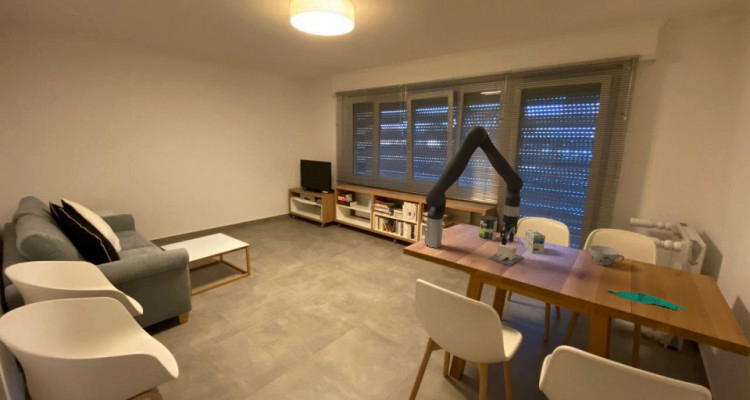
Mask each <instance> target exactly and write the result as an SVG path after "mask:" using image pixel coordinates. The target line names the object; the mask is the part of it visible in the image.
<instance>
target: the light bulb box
mask: <svg viewBox="0 0 750 400" xmlns="http://www.w3.org/2000/svg"><path fill="white" fill-rule="evenodd" d="M545 242H546V235H545V234H543V233H541V232H540V231H538V230H536V229H535V230H533V229H526V230H525V237H524V242H523V243H524V245H523V247H524V248H525V249H526V250H527V251H529V252H530V253H531V254H544V250H545Z"/></svg>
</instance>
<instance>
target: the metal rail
mask: <svg viewBox="0 0 750 400" xmlns="http://www.w3.org/2000/svg"><path fill="white" fill-rule="evenodd" d="M497 258H498V260H500V261H503V260H505V259H507V258H508V257H506V256H502V255H501V256H499V257H497Z"/></svg>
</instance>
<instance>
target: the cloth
mask: <svg viewBox="0 0 750 400" xmlns="http://www.w3.org/2000/svg"><path fill="white" fill-rule="evenodd" d="M606 293H613V294H615V295H616V296H618V298H622V299H625V300H627V301H632V302H634V303H635V302H636V303H639V304H644V305H652V304H653V305H656V306H661V307H663V306H665V307H664V308H667V307H668V309H671V310H674V311H676V310H678V308H680V309H679V310H682V309H683V311H689V309H687V308H686V307H682V306H681V305H677V304H675V303H673V302H670V301H667V300H665V299H662V298H659V297H656V296H653V295H651V294H648V293H646V292H645V293H643V292H637V291H635V292H630V291H614V290H607V291H606ZM679 310H678V311H679Z"/></svg>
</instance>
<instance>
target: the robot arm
mask: <svg viewBox="0 0 750 400" xmlns="http://www.w3.org/2000/svg"><path fill="white" fill-rule="evenodd" d="M462 141H463V142H462V143H461V145H460V147H459V148H458V150H457V151H456V152H455V153H454V155H453V156H452V157H451V159H449V162H448V163H447V165H446V166H445V168H444V169H443V171H442V173H441V174H440V175H439V178H438V179H437V182H435V184H434V185H433V187H432V188H431V189H430V191H429V192H427V195H426V198H425V204H426V206H428V207H429V208H430V209H429V210H428V212H427V218H426V228H425V230H424V243H425V244H426V245H428V246H430V247H429V248H431V247H434V248H433V249H437V248H438V247H439V248H441V247H442V243H443V242H442V239H443V227H444V225H443V224H444V215H445V213H446V204H447V196H446V194H445V193H446V192H447V191H448V190H449V189H450V188H451V187H452V185H454V184H455V183H457V181H458V180H459V178H460V177H461V176H462V174H463V173H464V171H466V168H467V166H468V164H469V162H470V160H471V158H472V156H473V155H474V153H475V152H476V150H477V149H478V148H480V149H481V150H482V152H483V153H484V155H485V156H486V158H487V160H488V162H489V163H490V165H491V166H492V167H493V169H494V170H495V172H496V173H497V174H498V176H500V177H501V178H502V180H503V181H504V182H505V183H506V188H505V189H506V191H505V192H506V196H505V200H504V206H503V207H504V208H503V215H502V222H503V223H504V226H503V225H502V226H501V227H500V228H501V229H500V234H499V238H501V244H502V245H507V240H508V241H509V242H510V243H513V242H514V239H515V235H516V234H517V232H518V223H519V217H520V206H521V189H523V187H524V181H523V179H522V178H521V177H520V175H518V173H517V172H516V171H515V170H514V169H513V168H512V165H511V164H510V163H509V162H508V161H507V159H506V158H505V157H504V155H503V154H502V153H501V152H500V151H499V150H498V148H497V147H496V145H494V143H493V141H492V139H491V137H490V136H489V134H488V132H487V130H486V129H485V127H483V126H482V125H475V126H472V127H471V128H470V129H469V130H468V131H467V132H466V135H465V137H464V138H463V140H462ZM425 244H424V245H425ZM426 245H425V246H426ZM428 246H427V247H428ZM439 248H438V249H439Z"/></svg>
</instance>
